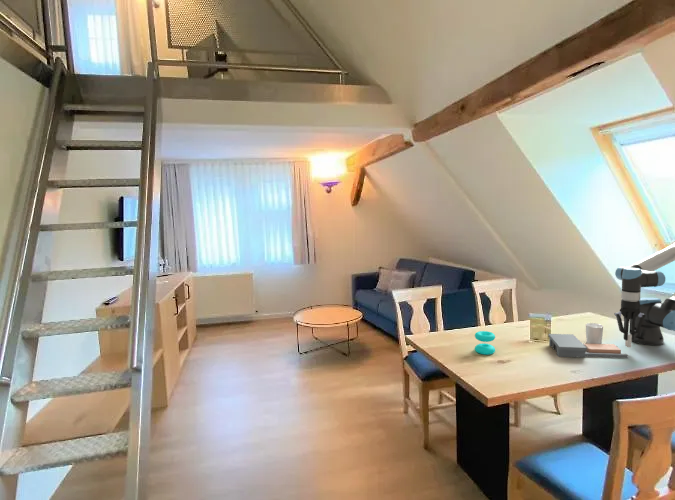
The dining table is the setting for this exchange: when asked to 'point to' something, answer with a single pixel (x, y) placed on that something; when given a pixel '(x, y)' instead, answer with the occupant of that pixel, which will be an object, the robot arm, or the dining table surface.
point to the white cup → (594, 333)
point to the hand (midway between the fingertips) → (628, 346)
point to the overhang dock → (574, 347)
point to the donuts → (483, 347)
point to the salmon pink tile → (602, 348)
